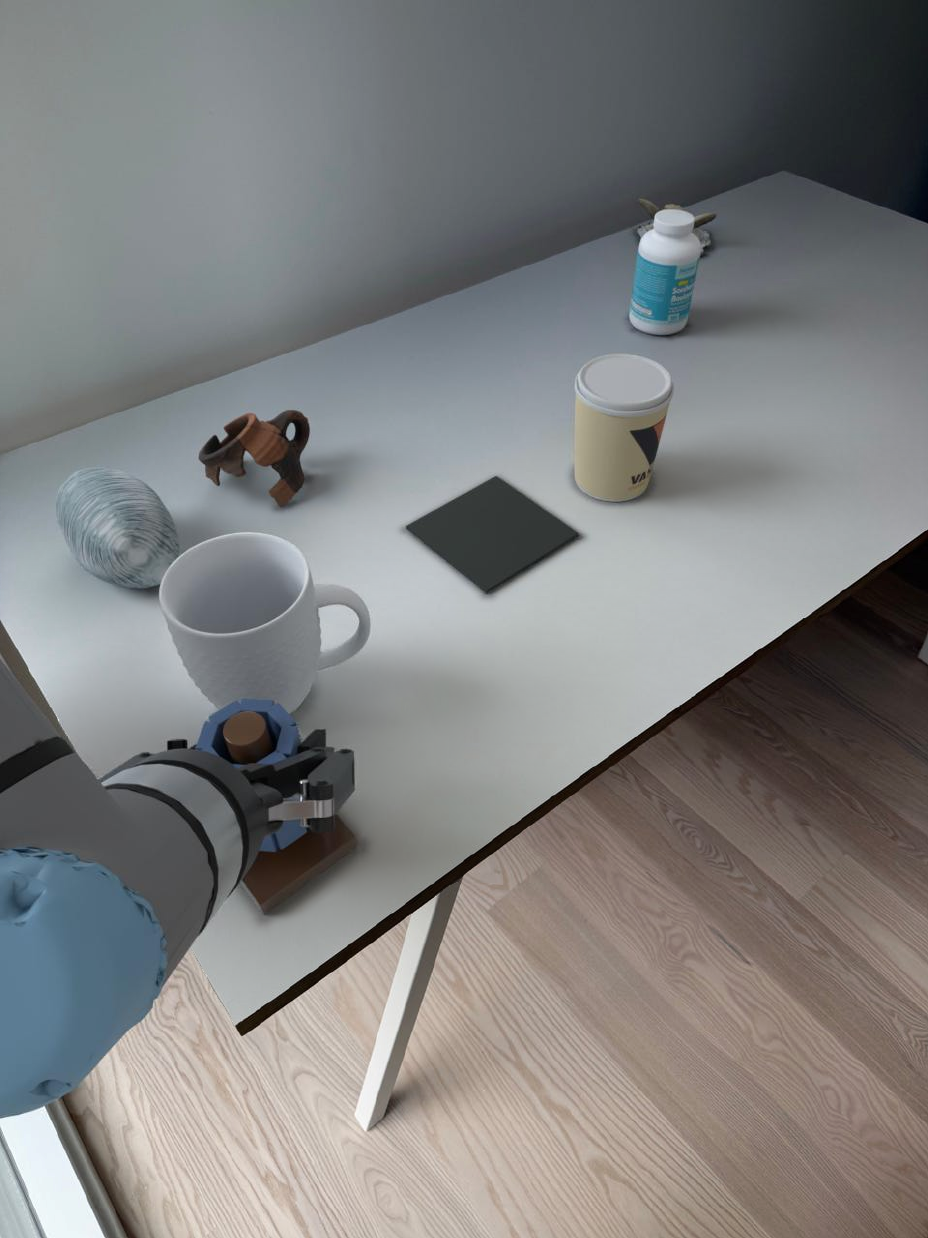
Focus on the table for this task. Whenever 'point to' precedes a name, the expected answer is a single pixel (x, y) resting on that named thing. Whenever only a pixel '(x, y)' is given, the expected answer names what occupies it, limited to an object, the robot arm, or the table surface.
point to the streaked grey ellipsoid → (117, 527)
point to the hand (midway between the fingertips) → (272, 749)
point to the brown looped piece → (260, 450)
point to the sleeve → (284, 747)
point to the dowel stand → (303, 857)
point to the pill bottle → (665, 274)
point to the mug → (253, 619)
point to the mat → (491, 533)
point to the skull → (699, 220)
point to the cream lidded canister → (619, 424)
